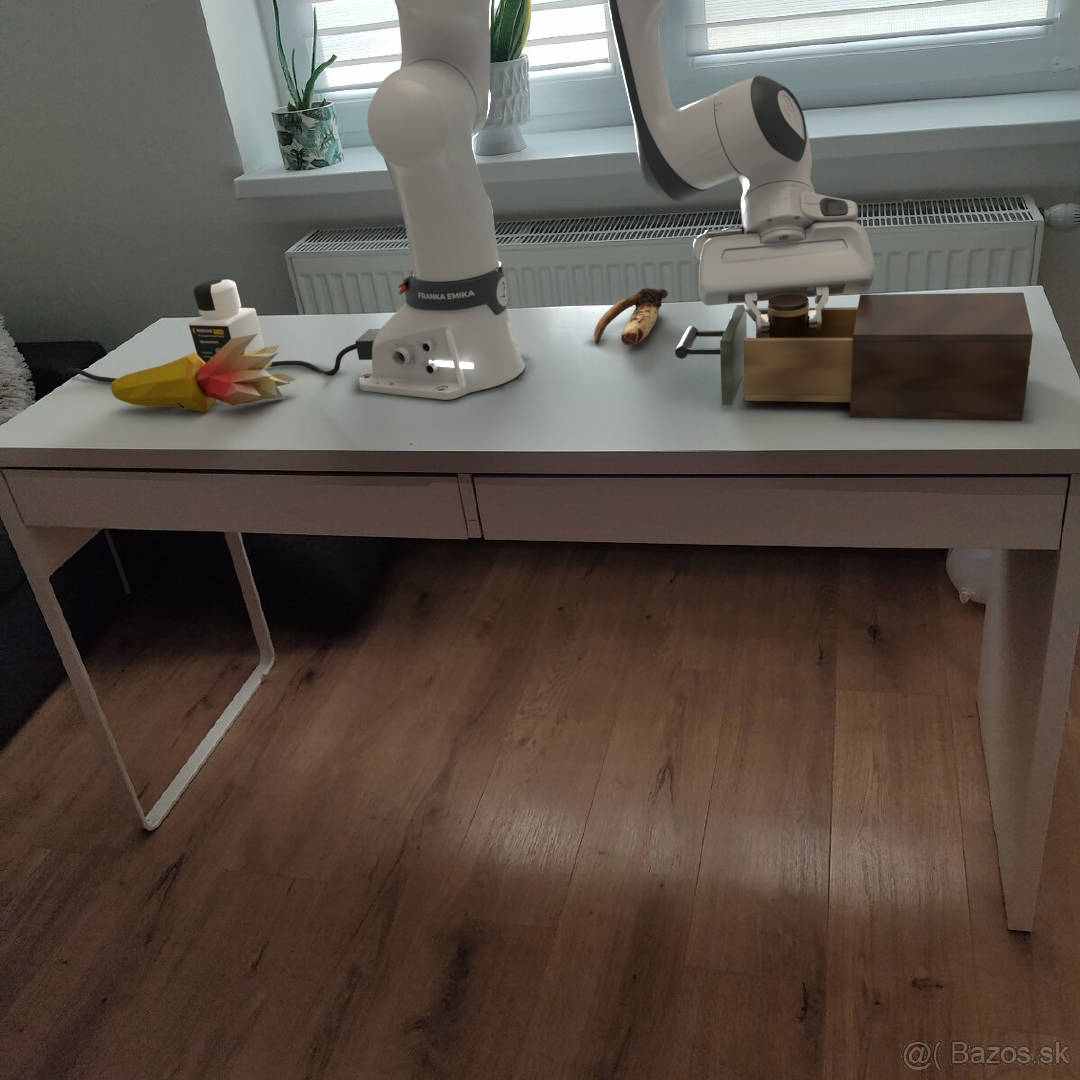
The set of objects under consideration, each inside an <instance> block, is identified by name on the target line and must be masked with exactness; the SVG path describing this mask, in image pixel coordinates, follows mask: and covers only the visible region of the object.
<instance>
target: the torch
mask: <svg viewBox="0 0 1080 1080" xmlns="http://www.w3.org/2000/svg"><path fill="white" fill-rule="evenodd" d="M256 335H257V334H253V335H248V336H243V337H238V338H233V339H231V340H230V341H229V342H228V343H227V344H225V345H224V346H223V347H222V348H221V349H220V350H219V351H218V352H217V353H216V354H215V355H214V356H213V357H212V358H211V359H210V360H209V361H208V362H207V363H205V362H204V361H203V360H202V359H201V358H200V357H199V356H198V355H197V352H192V353H189V354H187V355H184V356H182V357H180V358H178V359H176V360H173V361H170V362H168V363H165V364H162V365H158V366H154V367H151V368H146V369H143V370H138V371H135V372H130V373H127V374H124V375H122V376H120V377H118V378H117V379H116V380H114V381H113V382H112V383H110V391H111V393H112V395H113V397H114V398H115V399H116V400H118V401H120V402H124V403H127V404H130V405H134V406H141V407H150V408H151V407H153V408H155V407H157V408H160V407H163V408H165V407H168V408H169V407H171V408H172V407H174V408H179V409H187V410H189V411H196V412H200V413H201V412H202V413H207V411H208V410H210V408H211V407H212V406H213V405H214V404H215V403H216V402H217V401H220V402H223V403H227V404H229V405H230V406H231V407H234V406H239V405H243V404H250V403H253V402H257V401H261V400H285V399H286V398H285V396H284V395H283V394H282V393H281V391H280V390H279V388H278V387H281V386H285V385H289V384H291V383H290V382H294V381H297V380H298V379H297V378H294V377H292V376H290V375H288V374H286V373H275V374H274V373H273V374H270V373H269V372H268V369H270V368H271V367H270V366H271V365H272V362H274V361H273V359H274V358H275V357H276V356H277V355H278V354H279V353H280V352H276V351H277V349H278V348H279V347H281V345H280V344H279V345H272V346H265V347H264V348H260V349H257V350H254V351H251V352H247V353H245V348H246V347H247V346H248V344H249V343H250V342H251V341H252V340H253V339H254V338H255V336H256Z"/></svg>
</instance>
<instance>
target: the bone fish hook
mask: <svg viewBox="0 0 1080 1080" xmlns="http://www.w3.org/2000/svg"><path fill="white" fill-rule="evenodd" d="M667 296H669V292H668V291H667V290H666V289H664V288H658V289H657V288H654V287H643V288H641V289H640V290H638V291H637V292H636V293H633V294H630V296H627V297H624V298H623V299H621V300H619V301H617V302H616V303H615V304H613V305H612V306H611V307H610V308H609V309H608V310H607V311H606V312H605V313H604V314H603V315H602V316H601V318H600V319H598V321H597V324H596V325H595V329H594V333H593V341H594V344H598V343H599V342H600V340H601V338H602V336H603V333H604V332H605V330H606V328H607V326H608V325H609V324H611V322H613V321H614V320H615V319H616V318H617V317H618V316H619V315H620V314H622V313H623V312H624V311H627V310H628V309H629V308H632V307H633V306H634V307H635V308H634V310H633V311H632V314H631V315H630V317H629V318H628V320H627V322H626V325H625V326H624V328H623V329H622V332H621V335H620V341H621V343H622V344H623V345H624V346H633V345H637V344H640V343H641V342H642V341H643V340H644V339H645V338H646V337H648V335H649V334H650V332H651V330H652V329H653V328H654V326H655V324H656V322H657V320H658V316H659V312H660V311H659V310H660V308H661V307H662V300H663V299H666V298H667Z"/></svg>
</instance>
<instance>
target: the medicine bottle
mask: <svg viewBox="0 0 1080 1080" xmlns="http://www.w3.org/2000/svg"><path fill="white" fill-rule="evenodd" d="M193 295H194V299H195V303H196V306H197V310H198V314H199V315H200V316H199V317H197V318H195V319H193V320H190V321H189V322H188V327H189V330H190V335H191V337H192V341H193V345H194V349H195V351H196V352H195V353H196V354H197V355H198V356H199V357H200V358H201V359H202V360H203V361H204V362H205V363H207V362H208V361H209V360H210V359H211V358H212V357H213V356H214V355H215V354H216V353H217V352H218V351H219V350H220V349H221V348H222V347H223V346H224V345H225V344H227V343H228V342H229V341H230V340H231V339H233V338H238V337H243V336H248V335H253V334H257V335H256V336H255V338H254V339H253V340H252V341H251V342H250V343H249V344H248V346H247V347H246V348H245V353H247V352H251V351H254V350H257V349H260V348H264V347H266V346H265V342H264V338H263V334H262V330H261V326H260V322H259V318H258V315H257V310H256V309H255V308H254V307H242V302H241V299H240V295H239V292H238V287H237V284H236V282H235V281H234V280H232V279H229V278H214V279H209V280H206V281H203V282H201V283H199V284H197V285H196V286H195V287H194V288H193Z"/></svg>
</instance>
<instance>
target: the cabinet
mask: <svg viewBox="0 0 1080 1080" xmlns="http://www.w3.org/2000/svg"><path fill="white" fill-rule="evenodd" d="M857 307H858V309H857V315H856V320H855V326H854V332H853V346H852V374H851V401H850V402H849V404H850V405H849V417H851V418H882V419H883V418H887V419H890V418H891V419H927V420H928V419H930V420H931V419H932V420H933V419H934V420H935V419H936V420H975V421H977V420H981V421H982V420H984V421H1023V420H1024V411H1025V405H1026V404H1025V403H1026V395H1027V388H1028V387H1027V385H1028V377H1029V371H1030V361H1031V354H1032V348H1033V347H1032V346H1033V337H1034V332H1033V328H1032V323H1031V320H1030V314H1029V309H1028V306H1027V302H1026V297H1025V293H1024V292H1023V291H1022V292H963V293H960V292H959V293H956V292H955V293H953V292H952V293H949V292H948V293H891V294H890V293H889V294H887V293H885V294H884V293H883V294H882V293H881V294H880V293H879V294H860V295H859V299H858V303H857Z"/></svg>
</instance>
